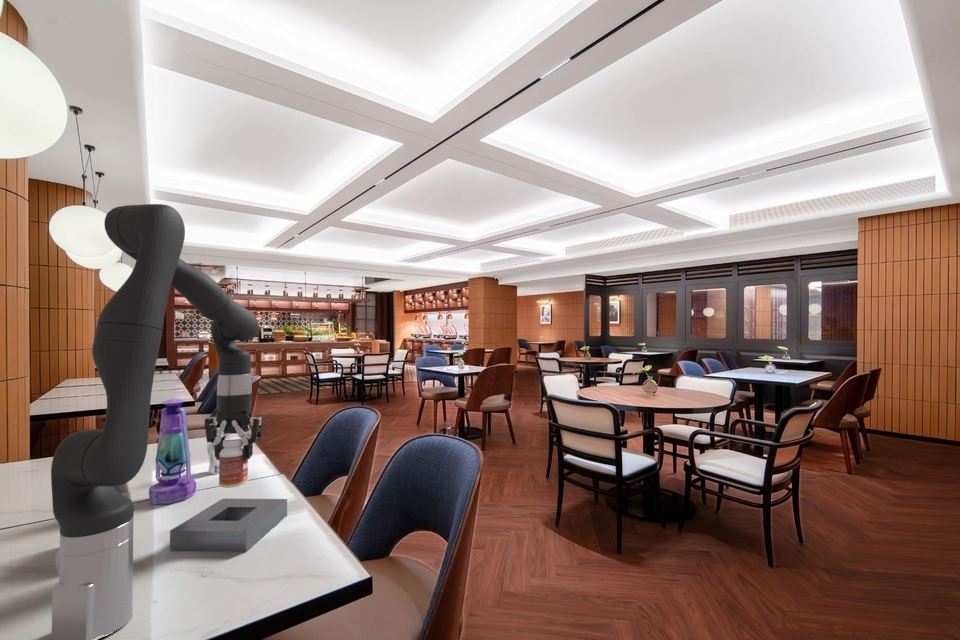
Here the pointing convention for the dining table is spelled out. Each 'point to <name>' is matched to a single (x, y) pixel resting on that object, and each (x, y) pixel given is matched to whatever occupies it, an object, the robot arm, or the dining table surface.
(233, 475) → the pill bottle
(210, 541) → the bore housing
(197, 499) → the dining table surface
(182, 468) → the lantern
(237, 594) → the dining table surface
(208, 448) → the beer glass
